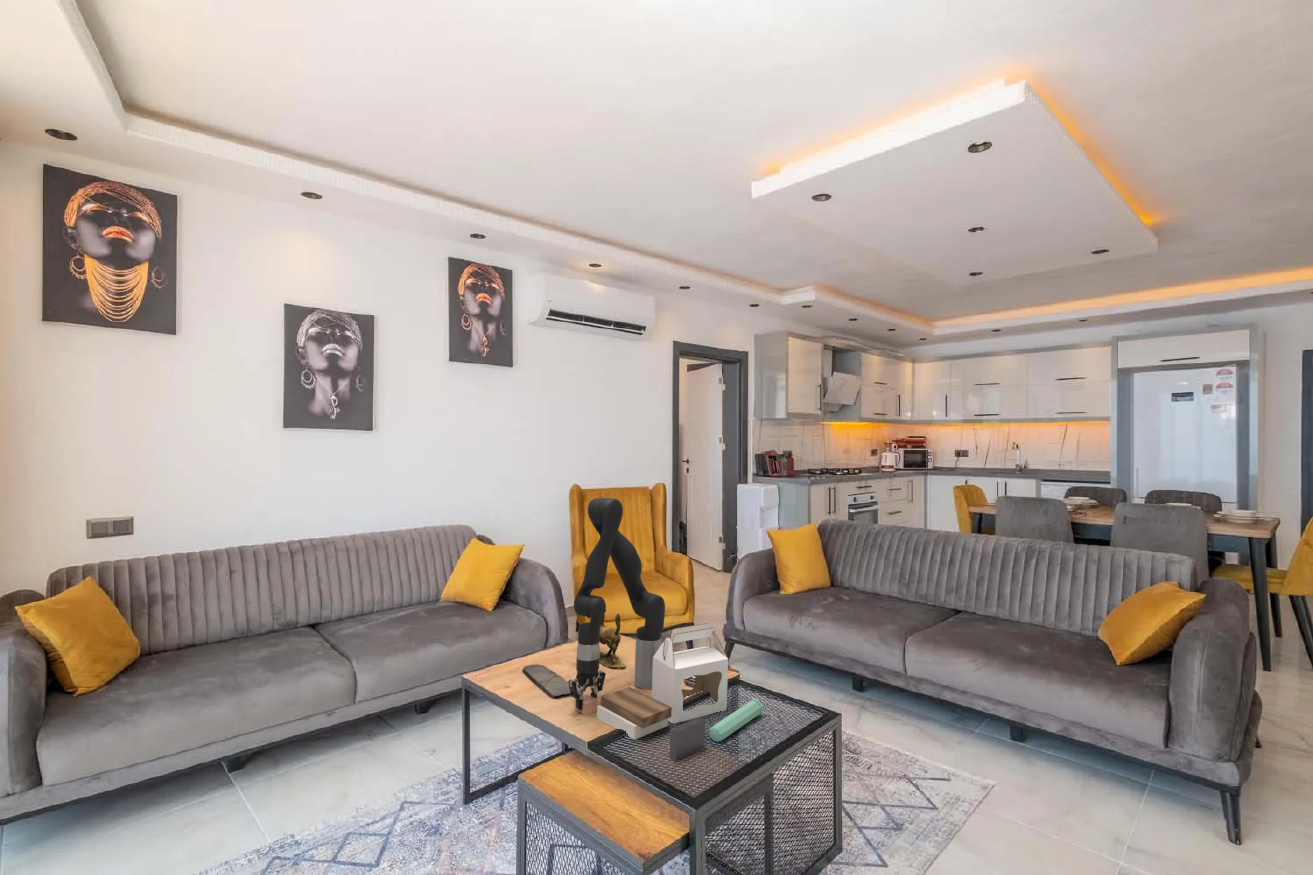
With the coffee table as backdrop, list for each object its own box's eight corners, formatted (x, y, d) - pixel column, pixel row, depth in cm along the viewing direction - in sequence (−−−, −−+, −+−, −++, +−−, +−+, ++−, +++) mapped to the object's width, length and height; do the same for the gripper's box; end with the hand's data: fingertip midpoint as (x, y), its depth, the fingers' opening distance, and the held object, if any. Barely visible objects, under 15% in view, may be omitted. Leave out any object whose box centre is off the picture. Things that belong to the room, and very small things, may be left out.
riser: (629, 706, 210) (630, 694, 210) (667, 725, 197) (667, 713, 197) (596, 718, 200) (597, 705, 200) (634, 739, 187) (634, 726, 187)
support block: (587, 704, 210) (587, 693, 210) (598, 710, 205) (598, 699, 205) (574, 708, 206) (575, 697, 206) (585, 715, 202) (586, 703, 202)
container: (718, 724, 186) (760, 696, 206) (703, 726, 190) (745, 698, 209) (724, 745, 185) (765, 715, 204) (709, 746, 188) (751, 717, 208)
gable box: (672, 724, 198) (675, 636, 198) (650, 708, 209) (653, 624, 209) (727, 710, 210) (730, 626, 209) (704, 695, 221) (706, 616, 221)
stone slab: (545, 661, 243) (579, 686, 218) (544, 669, 243) (579, 695, 218) (519, 666, 237) (552, 692, 212) (519, 675, 237) (552, 701, 212)
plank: (629, 695, 209) (629, 686, 209) (671, 716, 194) (671, 707, 194) (600, 705, 200) (601, 696, 200) (642, 728, 186) (643, 718, 186)
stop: (698, 743, 186) (699, 717, 186) (704, 747, 184) (705, 720, 184) (669, 757, 178) (670, 729, 178) (675, 760, 176) (676, 732, 176)
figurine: (598, 648, 265) (600, 600, 265) (636, 666, 246) (638, 614, 246) (573, 654, 257) (574, 605, 256) (610, 673, 238) (612, 620, 238)
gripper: (598, 647, 213) (596, 697, 213) (563, 657, 203) (561, 709, 204) (612, 654, 208) (610, 704, 208) (577, 663, 198) (575, 717, 198)
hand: (586, 706), depth 206 cm, fingers closed on support block, 5 cm apart
